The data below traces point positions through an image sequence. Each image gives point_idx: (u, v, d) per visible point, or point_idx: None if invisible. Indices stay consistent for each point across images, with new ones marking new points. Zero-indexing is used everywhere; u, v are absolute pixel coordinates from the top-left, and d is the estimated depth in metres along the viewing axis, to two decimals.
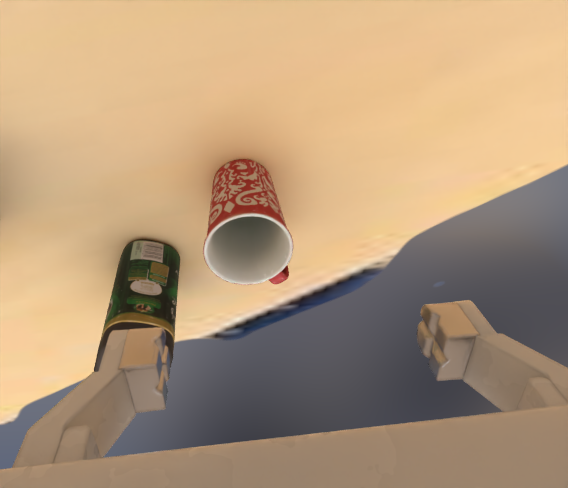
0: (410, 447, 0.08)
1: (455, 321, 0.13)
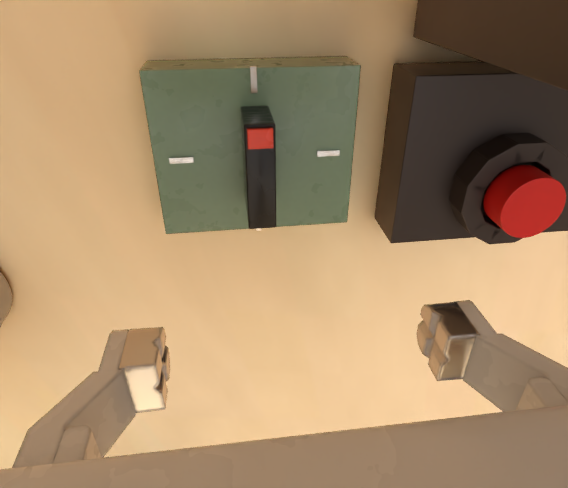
0: (410, 447, 0.08)
1: (455, 321, 0.13)
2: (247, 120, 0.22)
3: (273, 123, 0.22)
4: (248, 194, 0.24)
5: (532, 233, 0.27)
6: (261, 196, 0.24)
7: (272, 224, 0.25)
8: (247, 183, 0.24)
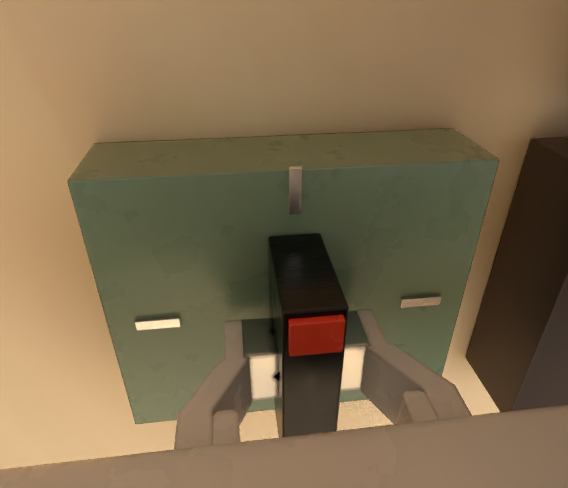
0: (411, 447, 0.08)
1: (348, 331, 0.13)
2: (287, 292, 0.11)
3: (344, 305, 0.10)
4: (285, 418, 0.12)
5: None
6: (309, 419, 0.12)
7: None
8: (284, 402, 0.12)
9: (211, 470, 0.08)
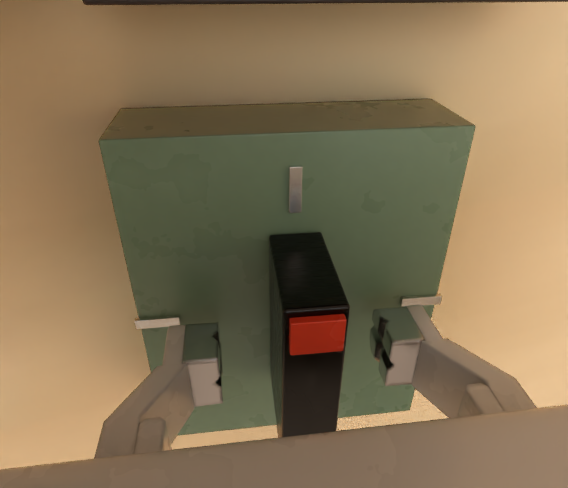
0: (410, 447, 0.08)
1: (402, 326, 0.13)
2: (288, 291, 0.11)
3: (345, 304, 0.10)
4: (284, 418, 0.12)
5: None
6: (308, 418, 0.12)
7: None
8: (283, 402, 0.12)
9: (211, 470, 0.08)
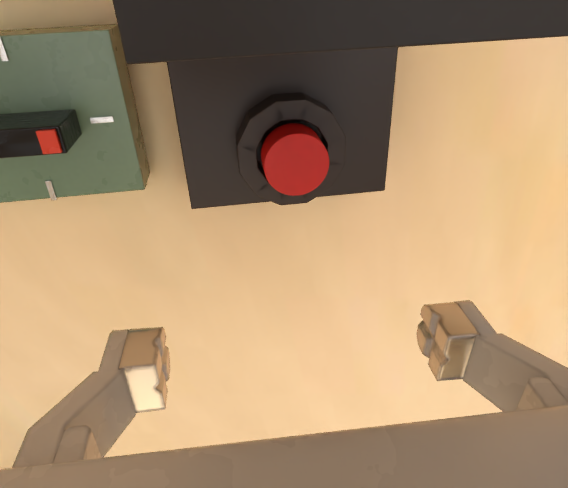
0: (410, 447, 0.08)
1: (455, 321, 0.13)
2: (63, 126, 0.25)
3: (66, 151, 0.25)
4: None
5: (305, 190, 0.28)
6: None
7: None
8: None
9: (211, 470, 0.08)
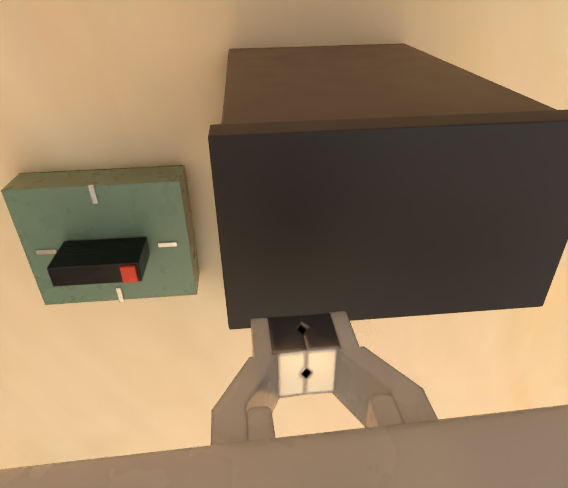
0: (410, 447, 0.08)
1: (321, 333, 0.12)
2: (140, 259, 0.30)
3: (141, 279, 0.31)
4: (80, 266, 0.30)
5: None
6: (80, 275, 0.30)
7: (55, 284, 0.30)
8: (89, 265, 0.30)
9: (211, 470, 0.08)
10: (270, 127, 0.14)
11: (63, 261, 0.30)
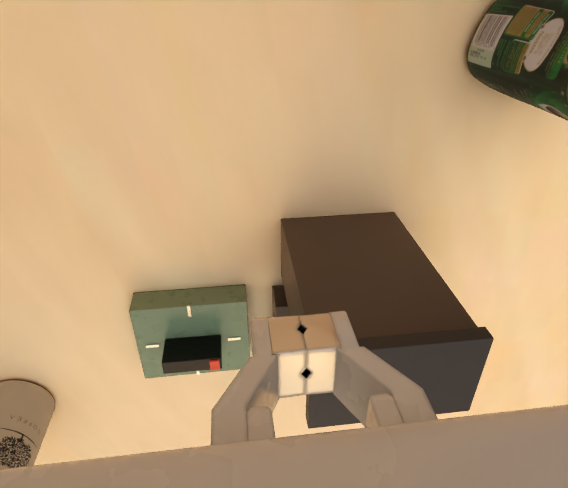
0: (411, 447, 0.08)
1: (321, 333, 0.12)
2: (221, 354, 0.46)
3: (221, 367, 0.46)
4: (183, 361, 0.45)
5: None
6: (182, 366, 0.45)
7: (165, 372, 0.45)
8: (189, 360, 0.45)
9: (211, 470, 0.08)
10: None
11: (171, 357, 0.45)
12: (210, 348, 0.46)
